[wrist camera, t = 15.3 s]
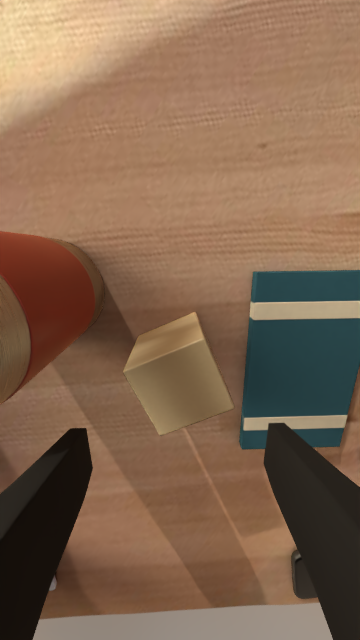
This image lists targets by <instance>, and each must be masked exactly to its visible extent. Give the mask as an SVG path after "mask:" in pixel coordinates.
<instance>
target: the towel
mask: <svg viewBox="0 0 360 640" xmlns="http://www.w3.org/2000/svg"><path fill="white" fill-rule="evenodd" d="M359 365H360V270H336V271H266V272H253V280H252V293H251V305H250V317H249V329H248V342H247V354H246V366H245V378H244V391H243V403H242V415H241V427H240V440H239V442H240V445H241V448H242V449H265V448H266V440H267V432H268V424H269V423H285V424H286V425H287V426H289V427H290V428H291V429H292V430H293V431H294V432H295V433H297V434H298V435H299V436H300V437H301V438H302V439H303V440H304V441H306V442H307V443H308V444H309V445H310V446H311V447H339V446H340V442H341V438H342V434H343V430H344V427H345V424H346V420H347V414H348V410H349V406H350V402H351V398H352V394H353V390H354V386H355V382H356V378H357V374H358V370H359Z"/></svg>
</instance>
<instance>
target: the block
mask: <svg viewBox="0 0 360 640" xmlns="http://www.w3.org/2000/svg"><path fill="white" fill-rule="evenodd" d="M123 373H124V375H125V377H126V379H127V380H128V382H129V384H130V385H131V387H132V389H133V391H134V392H135V394H136V396H137V397H138V399H139V401H140V403H141V404H142V406H143V408H144V409H145V411H146V413H147V415H148V416H149V418H150V420H151V421H152V423H153V425H154V427H155V428H156V430H157V432H158V434H159V435H160V436H162V435H165V434H167V433H170V432H173V431H175V430H178V429H181V428H183V427H186V426H189V425H192V424H194V423H197V422H200V421H202V420H205V419H208V418H210V417H213V416H216V415H218V414H221V413H224V412H226V411H229V410H232V409H234V404H233V401H232V399H231V396H230V394H229V391H228V388H227V386H226V383H225V381H224V378H223V376H222V373H221V370H220V368H219V365H218V363H217V360H216V358H215V356H214V353H213V351H212V349H211V347H210V344H209V342H208V340H207V337H206V335H205V333H204V330H203V328H202V326H201V323H200V321H199V319H198V316H197V314H196V312H193V313H191V314H189V315H186V316H184V317H181V318H179V319H177V320H174V321H172V322H170V323H167V324H165V325H163V326H160V327H158V328H156V329H153V330H151V331H149V332H146V333H144V334H142V335H139V336H138V338H137V340H136V343H135V345H134V347H133V349H132V352H131V354H130V356H129V359H128V361H127V363H126V365H125V368H124V370H123Z"/></svg>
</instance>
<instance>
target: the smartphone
mask: <svg viewBox="0 0 360 640" xmlns="http://www.w3.org/2000/svg"><path fill="white" fill-rule="evenodd" d="M291 564H292V579H293V590H294V593H295V595H296V596H297V597H298V598H301V599H307V598H315V597H318V596H317V593H316V591H315V589H314V586H313V584H312V581H311V579H310V576H309V574H308V571H307V569H306V567H305V565H304V562H303V560H302V558H301V555H300V553H299V551H298V550H296V551H294V552H293V553H292V556H291Z"/></svg>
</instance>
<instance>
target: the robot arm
mask: <svg viewBox="0 0 360 640" xmlns="http://www.w3.org/2000/svg"><path fill="white" fill-rule="evenodd" d="M264 466H265V469H266V472H267V475H268V478H269V482H270V484H271V487H272V490H273V493H274V496H275V498H276V500H277V503H278V505H279V507H280V510H281V512H282V514H283V517H284V519H285V521H286V524H287V526H288V528H289V530H290V533H291V535H292V537H293V539H294V542H295V544H296V546H297V549H298V551H299V553H300V555H301V558H302V560H303V562H304V565H305V567H306V569H307V571H308V574H309V576H310V579H311V581H312V584H313V586H314V589H315V591H316V593H317V596H318V599H319V602H320V604H321V607H322V610H323V613H324V615H325V618H326V621H327V624H328V627H329V629H330V632H331V635H332V638H333V640H360V487H359V486H357V485H356V484H355V483H354V482H352V481H351V480H350V479H349V478H348V477H346V476H345V475H344V474H343V473H342V472H340V471H339V470H338V469H337V468H336V467H334V466H333V465H332V464H331V463H330V462H328V461H327V460H326V459H325V458H324V457H323V456H322V455H320V454H319V453H318V452H317V451H316V450H315V449H313V448H312V447H311V446H310V445H309V444H308V443H307V442H306V441H304V440H303V439H302V438H301V437H300V436H299V435H298V434H297V433H295V432H294V431H293V430H292V429H291V428H290V427H289V426H287V425H286V424H285V423H269V424H268V432H267V440H266V448H265V456H264ZM92 469H93V467H92V461H91V454H90V448H89V442H88V436H87V430H86V428H72V429H70V430H68V431H67V432H66V433H65V434H64V435H63V436H62V437H61V438H60V439H59V440H58V441H57V442H56V443H55V444H54V445H53V446H52V447H51V448H50V449H49V450H47V451H46V452H45V453H44V454H43V455H42V456H41V457H40V458H39V459H38V460H37V461H36V462H35V463H34V464H33V465H32V466H31V467H30V468H28V469H27V470H26V471H25V472H24V473H23V474H22V475H21V476H20V477H19V478H18V479H17V480H16V481H15V482H13V483H12V484H11V485H10V486H9V487H8V488H7V489H5V490H4V491H3V492H2V493H1V494H0V640H32V639H33V636H34V633H35V630H36V627H37V624H38V621H39V618H40V615H41V611H42V608H43V605H44V602H45V600H46V597H47V594H48V591H52V590H54V589H55V588H56V585H57V581H56V578H55V573H56V570H57V568H58V565H59V563H60V560H61V558H62V555H63V552H64V550H65V547H66V545H67V542H68V540H69V537H70V535H71V532H72V530H73V527H74V524H75V522H76V519H77V517H78V514H79V511H80V509H81V506H82V504H83V501H84V498H85V495H86V491H87V488H88V484H89V480H90V477H91V473H92Z"/></svg>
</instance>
